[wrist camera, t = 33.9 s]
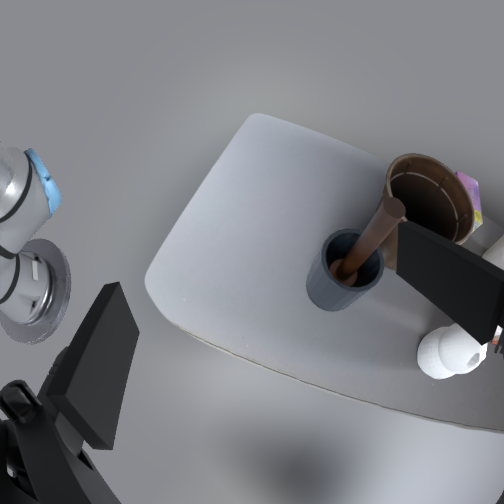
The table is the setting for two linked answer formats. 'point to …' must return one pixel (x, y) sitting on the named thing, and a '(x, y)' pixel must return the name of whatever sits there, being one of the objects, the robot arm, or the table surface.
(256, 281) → the table surface
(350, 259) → the brown rod
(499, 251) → the coffee cup
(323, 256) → the blue-grey cylindrical holder
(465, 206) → the plant pot
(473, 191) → the box
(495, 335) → the cracker box
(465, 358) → the cat figurine
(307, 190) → the table surface
